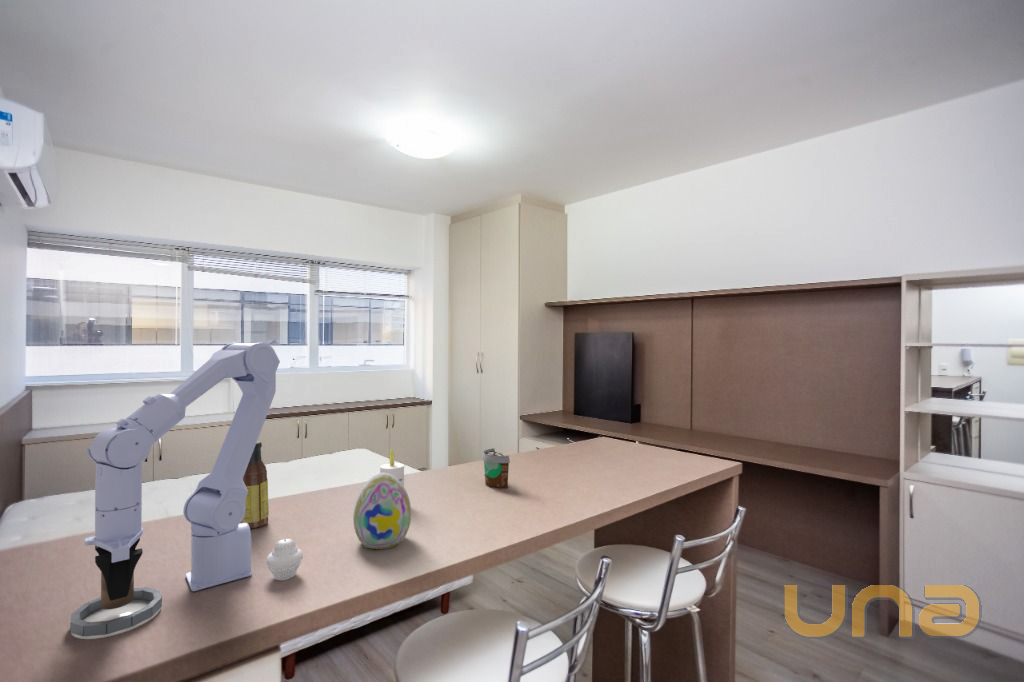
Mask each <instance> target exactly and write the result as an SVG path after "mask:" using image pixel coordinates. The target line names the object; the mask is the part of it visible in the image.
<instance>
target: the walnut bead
mask: <svg viewBox="0 0 1024 682" xmlns="http://www.w3.org/2000/svg"><path fill="white" fill-rule="evenodd" d="M100 576H101V577H100V585H101V586H100V591H101V592H100V597H101V608H102V609H115V608H119V607H122V606H125V605H127V604H129V603H130V602H132V601H133V599H134V588H135V587H134V586H135V571H134V572H133V576H132V580H131V585H130V589H129V593H128V595H127V596H126V597H123V598H119V599H115V600H112V601H110V599H109V596H108V592H107V587H106V582H105V579H104V576H103V574H102V572H101V571H100Z"/></svg>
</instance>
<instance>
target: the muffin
mask: <svg viewBox="0 0 1024 682" xmlns="http://www.w3.org/2000/svg"><path fill="white" fill-rule="evenodd" d="M303 555H304V554H303V551H302V550H301V549H300V548H299V547H298V546H297V544H296V541H295V540H293V539H291V538H283V539H280V540H278V541H277V542H276V543H275V544H274V548H273V549H272V551H271V552H270V553H269V554H268V556H267V557H266V565H267V566H268V570H269V571H270V573H271V575H272V576H273V578H274V579H275V580H277V581H288V580H290V579H293V577H294V576H295V575H296V574H297V571H298V569H299V567H300V565H301V563H302V560H303V557H304V556H303Z"/></svg>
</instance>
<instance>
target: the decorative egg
mask: <svg viewBox="0 0 1024 682" xmlns="http://www.w3.org/2000/svg"><path fill="white" fill-rule="evenodd" d="M352 517H353V518H352V519H353V521H352V522H353V529H354V532H355V534H356V537H357V539H358V540H359V542H360V543H361V544H362V546H364V547H366V548H368V549H372V550H385V549H391V548H393V547H396V546H398V545H399V544H401V543H402V541H403V540H404V539H405V537H406V535H407V534H408V532H409V529H410V526H411V521H412V505H411V501H410V496H409V494H408V491H407V490H406V488H405V485H404V486H403V485H402V483H401V482H400V481H399V480H398V479H397V478H396V477H395V476H393V475H391V474H389V473H380V472H379V473H376V474H374V475H373V476H372V477H371V478H370V479H368V480H367V481H366V483H365V484H364V485H363V487H362V488H361V489H360V492H359V493H358V495H357V498H356V501H355V505H354V508H353V516H352Z"/></svg>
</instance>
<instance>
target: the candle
mask: <svg viewBox="0 0 1024 682" xmlns="http://www.w3.org/2000/svg"><path fill="white" fill-rule="evenodd" d="M379 473H389V474H391V475H393V476H395V477H396V478H397V479H398V480H399V481H400V482H401V483H402V485H403V486H404V487H405V465H404V463H399V462H395V455H394V451H393V449H392V448H390V449H389V463H384V464H381V465H380V466H379Z"/></svg>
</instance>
